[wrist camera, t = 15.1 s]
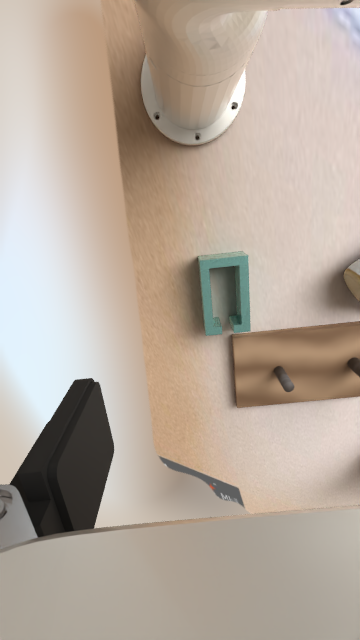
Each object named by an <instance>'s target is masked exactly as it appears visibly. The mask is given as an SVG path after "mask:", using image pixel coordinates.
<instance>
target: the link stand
mask: <svg viewBox="0 0 360 640" xmlns="http://www.w3.org/2000/svg"><path fill="white" fill-rule="evenodd" d="M232 345H233V362H234V380H235V397H236V405H237V408H242V407H252V406H263V405H273V404H284V403H294V402H305V401H315V400H326V399H336V398H347V397H358V396H360V321H358V322H348V323H338V324H329V325H319V326H310V327H300V328H290V329H281V330H271V331H261V332H252V333H242V334H232Z"/></svg>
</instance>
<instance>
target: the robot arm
mask: <svg viewBox="0 0 360 640" xmlns="http://www.w3.org/2000/svg"><path fill="white" fill-rule="evenodd" d="M134 3H135V7H136V11H137V15H138V19H139V24H140V28H141V32H142V36H143V41H144V46H145V50H146V55H145V58H144V62H143V66H142V72H141V92H142V97H143V102H144V105H145V108H146V111H147V113H148V115H149V117H150V119H151V121H152V122H153V124H154V125H155V126H156V128H157V129H158V130H159V131H160V132H161V133H162V134H163V135H164V136H166V137H167V138H169V139H171V140H172V141H174V142H177V143H180V144H184V145H201V144H205V143H208V142H210V141H212V140H214V139H216V138H218V137H219V136H220V135H221V134H223V133H224V132H225V131H226V130H227V129H228V128H229V126H230V125H231V124H232V123H233V121H234V119H235V118H236V116H237V114H238V112H239V110H240V108H241V105H242V102H243V98H244V95H245V87H246V71H245V68H246V66H247V64H248V62H249V59H250V57H251V55H252V53H253V51H254V49H255V46H256V44H257V42H258V40H259V37H260V35H261V33H262V30H263V27H264V24H265V21H266V17H267V13H268V11H277V10H280V9H303V8H360V0H134ZM232 106H234V107H235V110H232V108H231V107H232ZM156 116H159V120H156V119H155V118H156ZM196 136H199V140H196V139H195V137H196ZM113 454H114V443H113V439H112V434H111V430H110V426H109V422H108V417H107V413H106V409H105V405H104V400H103V396H102V393H101V388H100V385H99V382H94V380H93V379H92V378H89V379H80V380H75V381H74V382H73V384H72V385H71V387H70V389H69V390H68V392H67V394H66V395H65V397H64V398H63V400H62V402H61V404H60V405H59V407H58V408H57V410H56V412H55V413H54V415H53V417H52V418H51V420H50V421H49V422H48V423H47V424H46V426H45V427H44V429H43V431H42V432H41V434H40V436H39V438H38V439H37V440H36V442H35V444H34V445H33V447H32V449H31V450H30V452H29V453H28V455H27V457H26V458H25V460H24V462H23V464H22V465H21V466H20V468H19V470H18V471H17V473H16V475H15V477H14V478H13V480H12V481H11V483H10V484H9V485H0V640H360V505H354V506H342V507H330V508H317V509H305V510H293V511H281V512H269V513H257V514H245V515H233V516H223V517H210V518H199V519H188V520H177V521H165V522H154V523H143V524H133V525H123V526H113V527H104V528H96V529H94V525H95V522H96V518H97V514H98V511H99V507H100V503H101V499H102V495H103V492H104V488H105V484H106V481H107V477H108V473H109V469H110V465H111V461H112V458H113Z"/></svg>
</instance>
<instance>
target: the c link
mask: <svg viewBox="0 0 360 640" xmlns="http://www.w3.org/2000/svg"><path fill="white" fill-rule="evenodd" d="M198 264H199V276H200V287H201V298H202V310H203V321H204V329H205V333H206V336H208V335H218V334H222V326H221V323H220V320H219V317H215V318H213V313H212V300H211V287H210V274H209V268H218V267H228V266H235V284H236V305H237V315H235V316H229V319H230V325H231V327H232V330H233V332H234V333H238V332H248V331H250V301H249V269H248V255H247V254H245V253H244V252H243V251H240V252H231V253H222V254H213V255H204V256H198Z"/></svg>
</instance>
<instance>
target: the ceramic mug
mask: <svg viewBox="0 0 360 640" xmlns="http://www.w3.org/2000/svg"><path fill="white" fill-rule="evenodd" d="M344 280H345V282H346V284H347V286H348V288H349V290H350V291H351V293H352V294H353V295H354V296H355V298H356V299H357V300H358V301H359V302H360V259H358V260H357V261H355V262H354V263H352V264H351V265H350V266H349V267H348V268H347V269H346V270H345V272H344Z"/></svg>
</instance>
